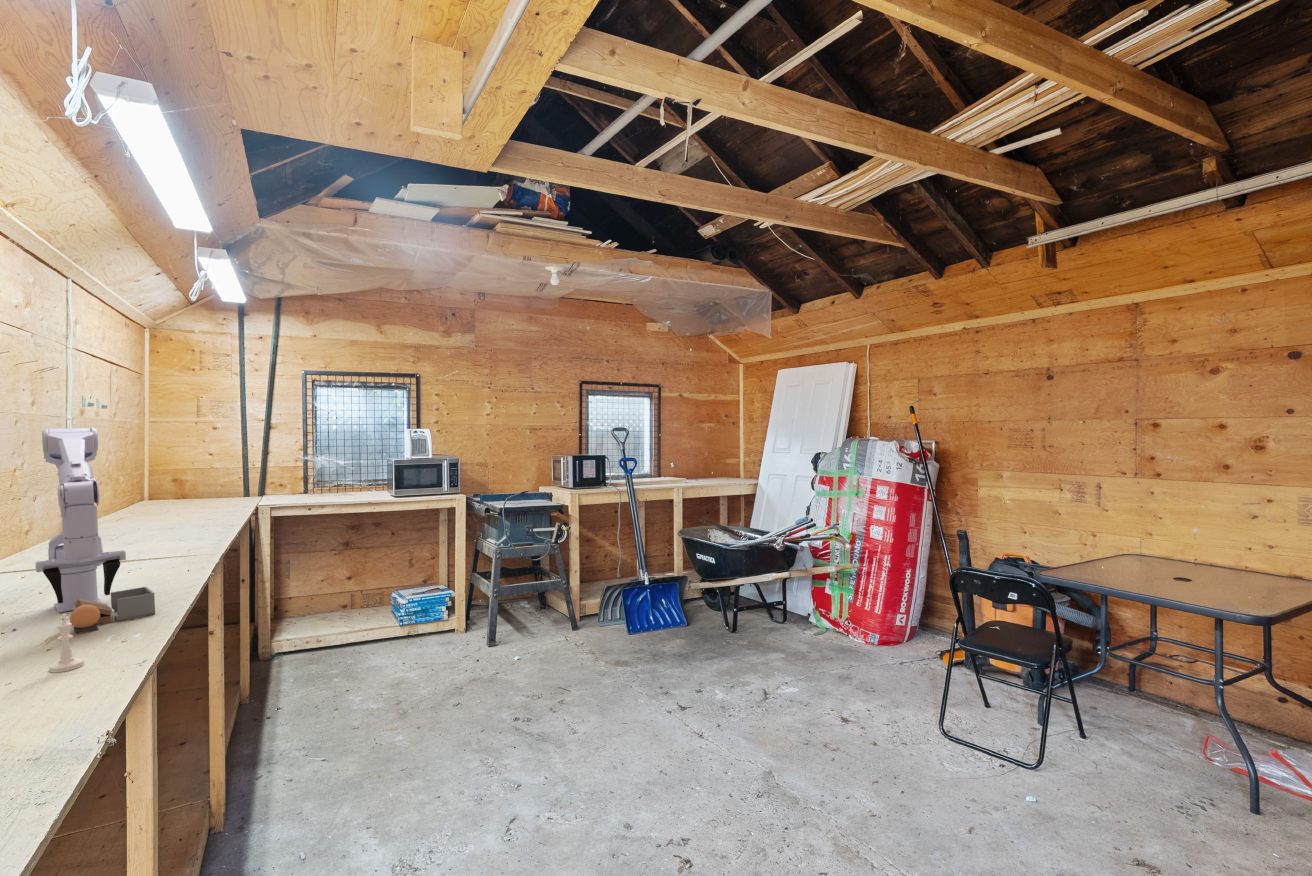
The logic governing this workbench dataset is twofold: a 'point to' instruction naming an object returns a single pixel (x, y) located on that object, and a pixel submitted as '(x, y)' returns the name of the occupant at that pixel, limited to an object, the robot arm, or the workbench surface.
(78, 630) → the dark gray picture frame
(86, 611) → the ball
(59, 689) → the workbench surface
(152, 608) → the gray open storage bin
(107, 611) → the ramp
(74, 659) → the chess piece
